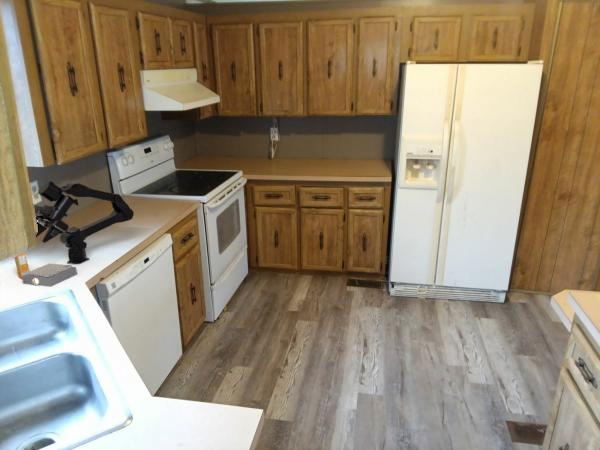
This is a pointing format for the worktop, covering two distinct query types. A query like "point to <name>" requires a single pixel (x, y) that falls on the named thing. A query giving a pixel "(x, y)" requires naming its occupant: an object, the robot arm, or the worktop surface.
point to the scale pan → (49, 270)
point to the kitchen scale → (49, 278)
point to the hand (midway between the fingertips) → (37, 240)
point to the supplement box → (21, 265)
